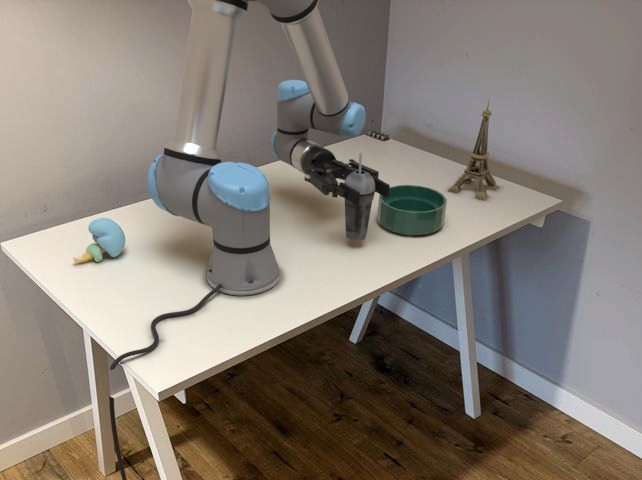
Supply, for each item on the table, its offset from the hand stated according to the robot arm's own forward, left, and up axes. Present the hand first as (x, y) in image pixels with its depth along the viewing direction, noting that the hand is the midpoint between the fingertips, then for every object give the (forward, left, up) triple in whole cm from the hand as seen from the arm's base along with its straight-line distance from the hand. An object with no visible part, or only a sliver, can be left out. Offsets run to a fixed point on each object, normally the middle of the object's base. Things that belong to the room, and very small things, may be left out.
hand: (373, 195), depth 144 cm
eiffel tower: (+47, -11, -14) cm, 51 cm away
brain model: (-30, +51, -14) cm, 61 cm away
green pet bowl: (+20, -3, -14) cm, 24 cm away
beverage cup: (+2, +4, -12) cm, 13 cm away
